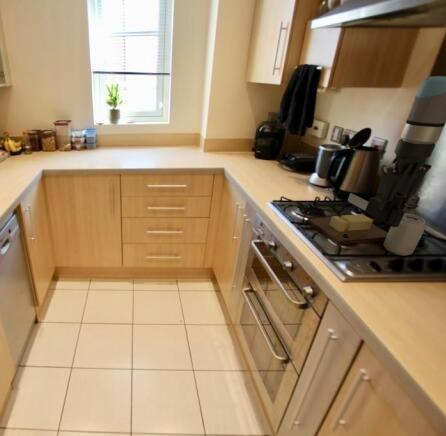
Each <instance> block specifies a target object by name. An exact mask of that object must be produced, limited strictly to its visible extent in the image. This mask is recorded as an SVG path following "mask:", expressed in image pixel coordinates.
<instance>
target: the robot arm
mask: <svg viewBox="0 0 446 436" xmlns="http://www.w3.org/2000/svg"><path fill="white" fill-rule="evenodd" d="M445 126H446V76H443V75H442V76H441V75H438V76H436V75H434V76H428V77H425V78H424V79H423V81H422V82H421V83H420V85H419V87H418V90H417V92H416V94H415V96H414V100H413V103H412V105H411V108H410V111H409V114H408V116H407V119H406V121H405V124H404V127H403V129H402V131H401V135H400V139H399V140H398V141H397V143H396V146H395V147H394V154H395V157H394V159H392V161H391V163H390V164H388V165H386V164H383V165H382V166H381V167H380V168H381V169H380V170H381V174H380V179H379V183H378V187H377V192H376V194H375V195H376V196H375V197H376V198H378V199H380V200H381V203H380V205H379V210H378V213H377V215H376V218H375V219H377V220H379V221H380V222H382V223H384V222H386V219H387V217H388V215H389V212H390V210H391V208H392V205H393V206H395V207H397V208H399V209H401V207H402V204H403V202H405V203H407V202H408V200H409V198H411V197H412V196H413V195H415V192H416V190H417V189H418V187H419V186H420V184H421V182H422V181H423V179H424V177H425V175H426V174H427V172H429V171H430V169H431V168H432V165H431V164H428V163H426V159H428V158H430V157H432V154H433V152H434V150H435V147H436V143H437V142H438V141H439V139H440V137H441V134H442V132H443V130H444V128H445Z"/></svg>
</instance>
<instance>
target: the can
mask: <svg viewBox="0 0 446 436" xmlns="http://www.w3.org/2000/svg"><path fill="white" fill-rule="evenodd" d="M416 215H417V214H416ZM416 215H413V214H406V213H404V215H403V218H402V220H401V222H400V224H399V226H398V227H392V226H390V228H389V230H388V232H387V233H388V234H387V237H386V239H385V241H383V244H382V245H383V247H384V248H385V251H388V252H389V253H391V254H393V255H397V256H403V257H404V256H409V255H410V256H411V255H413V254H414V252H415V250H416V248H417V246H418V244H419V242H420V240H421V238H422V236H423V234H424V232H425V230H426V228H427V225H426V219H425V218H423V217H421V216H419V215H417V216H416Z"/></svg>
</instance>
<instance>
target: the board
mask: <svg viewBox="0 0 446 436" xmlns="http://www.w3.org/2000/svg"><path fill="white" fill-rule="evenodd" d="M337 216H338V217H340V218H341V216H342V215H340V216H339V215H337ZM331 218H332V216H326V217H312V218H311V217H310V218H307V220H306V222H307V224H308V225H310V226H312V227H313V228H314V229H315V230H317V231H318V232H319V233H321V234H322V235H324V237H326V238H328V239H329V240H330V241H331V242H333V244H336V245H337V246H338V245H339V246H342V245H352V244H363V243H375V242H384V241H385V239H386V237H387V234H388V232H387V231H385V230H383V229H382V228H380V227H379V226H377V225H376V224H374V223H372V225H371V228H370V229H366V230H354V231H348V230H347V229H345V231H341V232H339V231H337V230H336V229H335V228H333V227H332V226H330V225H329V224H330V221H331ZM344 234H347V235H348V236H349V237H348V238H344V237H343V235H344ZM337 241H338V242H337ZM341 241H349V242H341Z"/></svg>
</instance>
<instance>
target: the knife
mask: <svg viewBox="0 0 446 436" xmlns="http://www.w3.org/2000/svg"><path fill="white" fill-rule="evenodd" d="M381 200H382V199H381V198H379V197H377V196H372V197H369V199H368V200H366V199H364V198H362V197H360V196H358V195H356V194H354V193H352V192H350V193H349V196H348V199H347V202H349V203H350V204H352V205H353V206H356V207H357V208H360V209H361V210H363V211H364V213H366V214H367V215H369V216H371V217H373V218H375V219H377V218H376V215H377V213H378V210H379V205H380V203H381ZM403 210H404V209H401V208H397V207H395V206H393V205H392V208H391V210H390V212H389V215H388V217H387V219H386V222H383V223H384V224H386V225H388V226H390V227H391V226H392V227H398V226H399V224H400V222H401V220H402V218H403V215H404V213H405V211H403Z"/></svg>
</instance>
